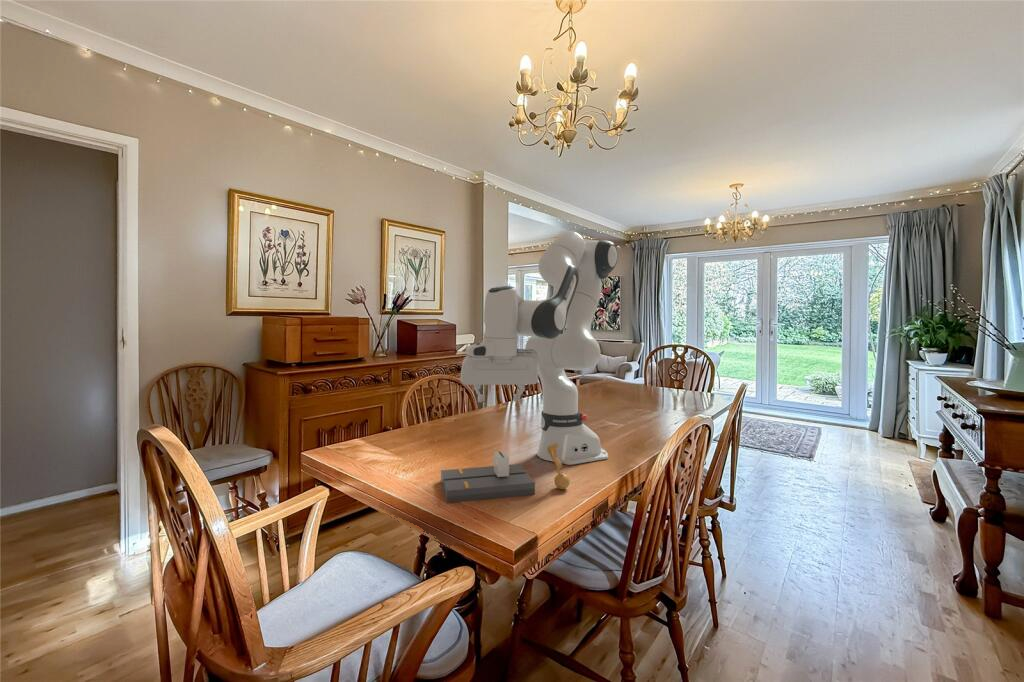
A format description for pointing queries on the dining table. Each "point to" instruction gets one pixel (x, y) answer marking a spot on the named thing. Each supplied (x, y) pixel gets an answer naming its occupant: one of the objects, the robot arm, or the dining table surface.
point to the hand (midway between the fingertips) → (499, 401)
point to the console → (485, 483)
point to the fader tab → (501, 464)
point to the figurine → (560, 479)
